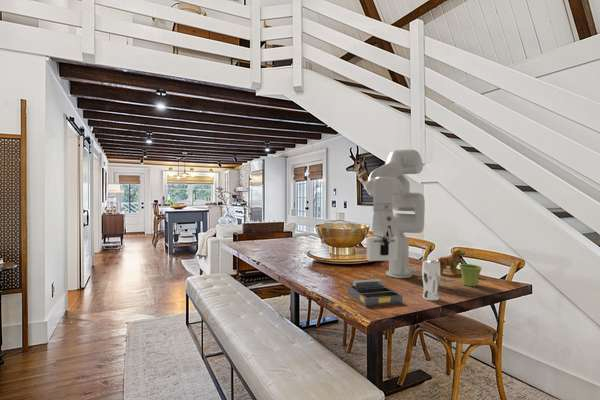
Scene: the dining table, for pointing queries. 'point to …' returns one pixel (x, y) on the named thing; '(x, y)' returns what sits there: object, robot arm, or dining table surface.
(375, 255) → the panel
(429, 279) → the beer glass
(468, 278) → the plant pot
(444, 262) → the figurine
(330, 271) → the dining table surface
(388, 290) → the tray
